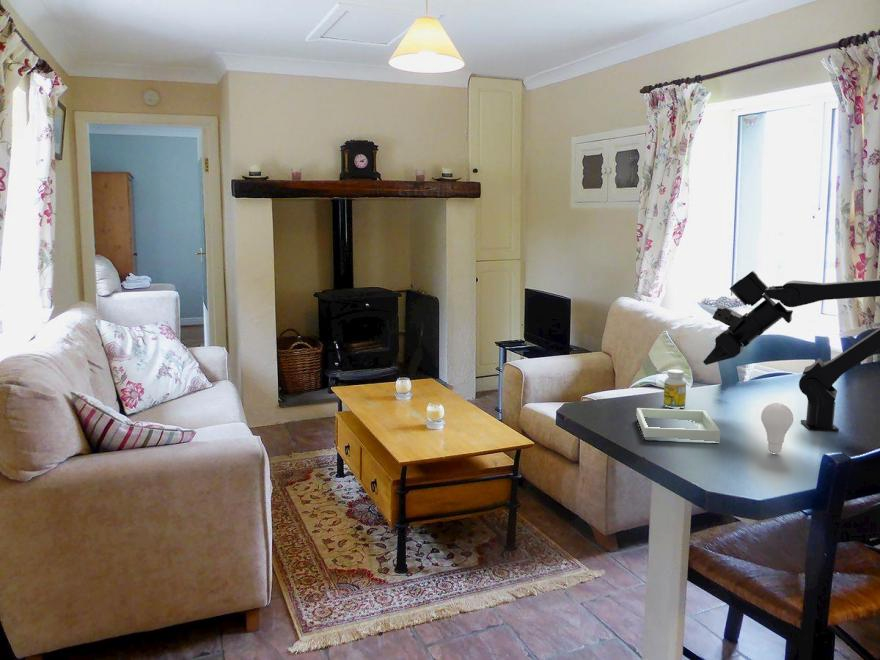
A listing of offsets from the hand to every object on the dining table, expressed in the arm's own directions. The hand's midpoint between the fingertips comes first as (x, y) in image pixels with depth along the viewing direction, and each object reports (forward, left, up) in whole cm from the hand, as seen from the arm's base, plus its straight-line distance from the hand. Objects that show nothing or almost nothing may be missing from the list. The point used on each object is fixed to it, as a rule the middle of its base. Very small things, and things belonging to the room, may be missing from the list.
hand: (708, 359), depth 179 cm
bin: (-18, +10, -13) cm, 25 cm away
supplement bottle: (+3, +7, -14) cm, 16 cm away
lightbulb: (-31, -8, -14) cm, 35 cm away
